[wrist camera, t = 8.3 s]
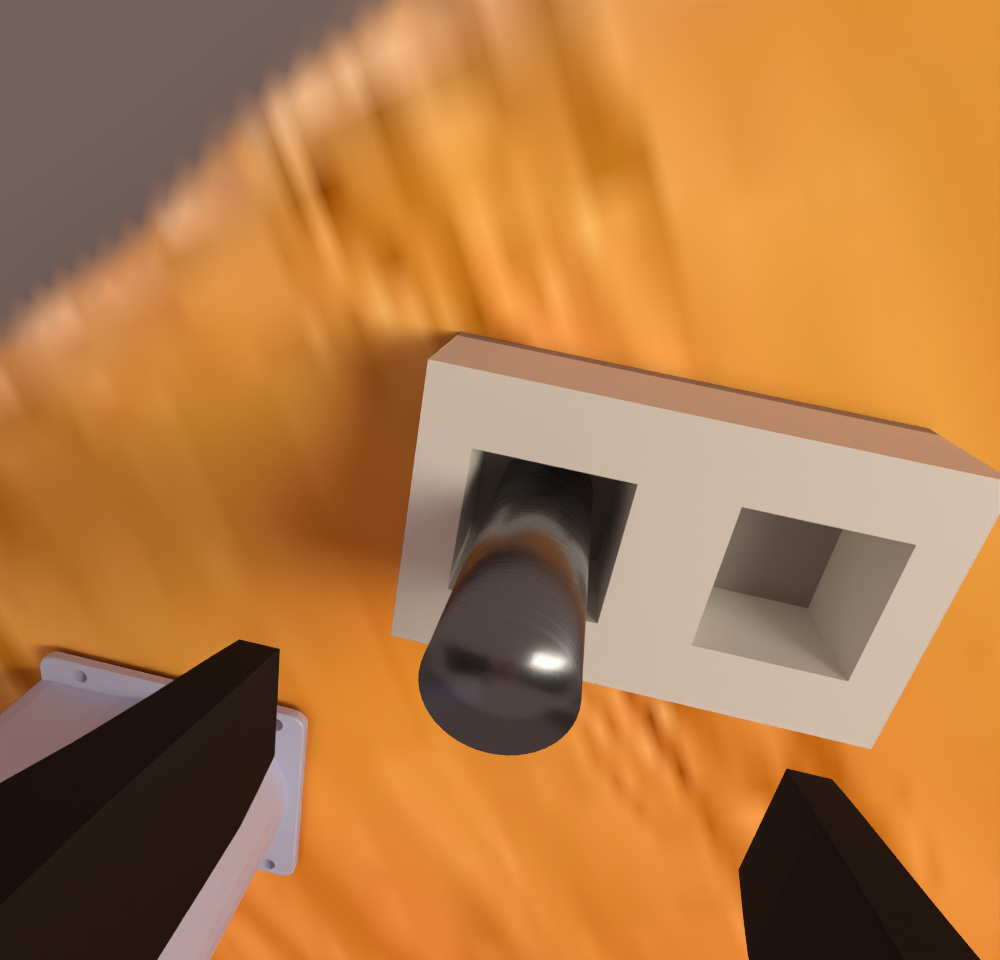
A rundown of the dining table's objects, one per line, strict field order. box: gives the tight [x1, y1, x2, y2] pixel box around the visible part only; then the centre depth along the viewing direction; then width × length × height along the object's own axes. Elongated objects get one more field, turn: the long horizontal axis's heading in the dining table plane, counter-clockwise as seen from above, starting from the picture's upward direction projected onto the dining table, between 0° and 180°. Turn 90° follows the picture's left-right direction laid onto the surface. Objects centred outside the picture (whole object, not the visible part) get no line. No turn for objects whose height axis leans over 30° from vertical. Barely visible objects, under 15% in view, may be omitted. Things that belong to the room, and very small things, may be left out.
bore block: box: [391, 332, 1000, 749], centre depth 16 cm, size 7×12×4 cm, turn 80°
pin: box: [418, 458, 593, 755], centre depth 13 cm, size 2×2×8 cm
